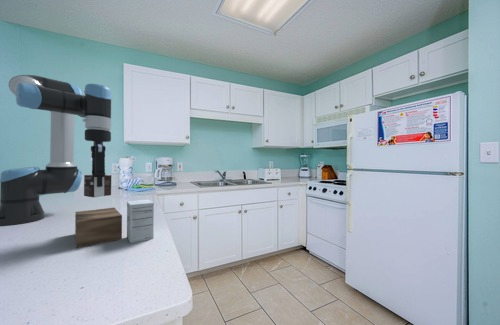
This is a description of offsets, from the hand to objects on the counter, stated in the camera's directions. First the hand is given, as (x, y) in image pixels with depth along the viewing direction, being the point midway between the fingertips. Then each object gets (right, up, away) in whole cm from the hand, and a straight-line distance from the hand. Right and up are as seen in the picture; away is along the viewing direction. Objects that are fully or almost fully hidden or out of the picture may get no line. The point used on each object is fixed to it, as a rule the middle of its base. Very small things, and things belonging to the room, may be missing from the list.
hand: (97, 194), depth 74 cm
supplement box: (+15, -15, -1) cm, 22 cm away
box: (0, -1, 0) cm, 1 cm away
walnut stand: (0, -15, 0) cm, 15 cm away
